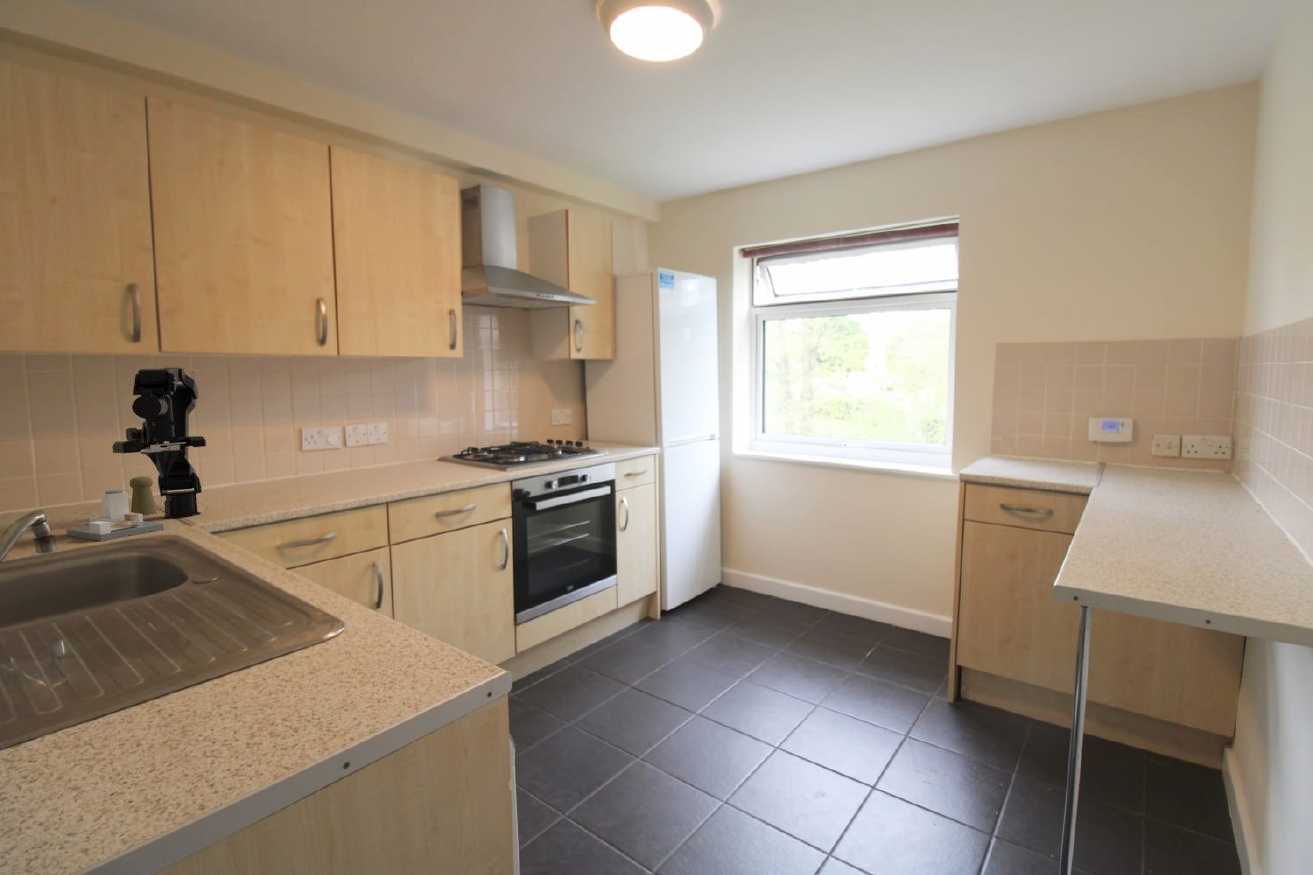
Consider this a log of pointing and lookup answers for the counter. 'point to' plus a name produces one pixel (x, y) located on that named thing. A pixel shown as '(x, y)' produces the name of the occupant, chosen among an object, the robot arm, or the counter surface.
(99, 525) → the plate
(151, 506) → the olive pepper mill
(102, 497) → the white upright block
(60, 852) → the counter surface
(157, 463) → the robot arm
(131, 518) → the latch bolt
